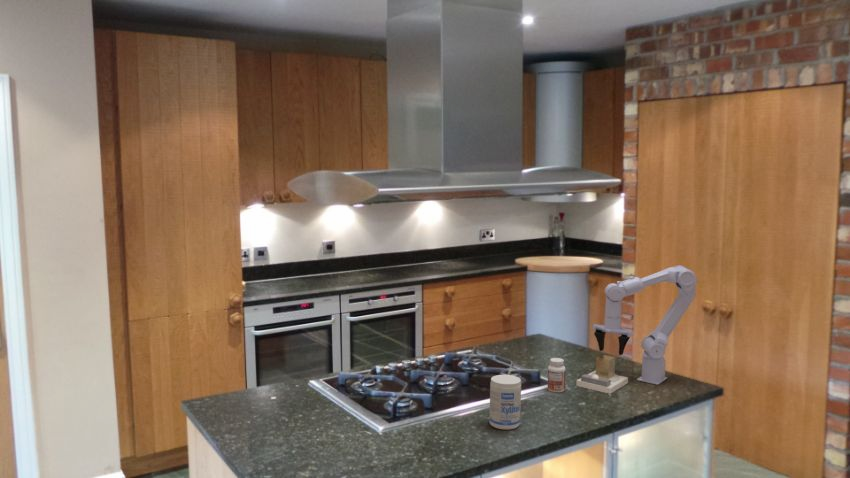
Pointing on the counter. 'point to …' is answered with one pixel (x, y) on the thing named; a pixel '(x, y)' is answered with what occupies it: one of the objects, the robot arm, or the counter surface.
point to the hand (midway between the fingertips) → (611, 352)
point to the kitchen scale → (601, 382)
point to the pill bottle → (556, 375)
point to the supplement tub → (505, 401)
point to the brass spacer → (605, 366)
